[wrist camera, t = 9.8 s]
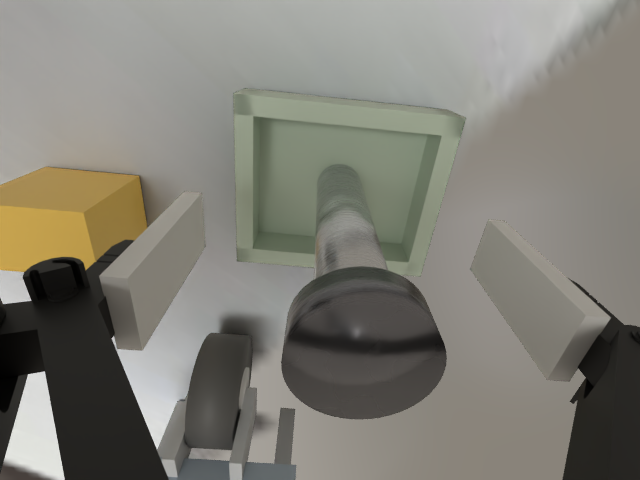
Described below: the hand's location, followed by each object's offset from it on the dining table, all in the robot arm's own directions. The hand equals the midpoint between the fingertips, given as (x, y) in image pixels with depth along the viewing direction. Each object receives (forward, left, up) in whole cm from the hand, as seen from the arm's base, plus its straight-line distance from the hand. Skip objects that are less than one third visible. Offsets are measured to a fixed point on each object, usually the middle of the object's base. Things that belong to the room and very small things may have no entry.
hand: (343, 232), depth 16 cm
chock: (+3, -16, -8) cm, 18 cm away
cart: (+18, -7, -8) cm, 21 cm away
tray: (0, 0, -7) cm, 7 cm away
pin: (0, 0, -7) cm, 7 cm away
